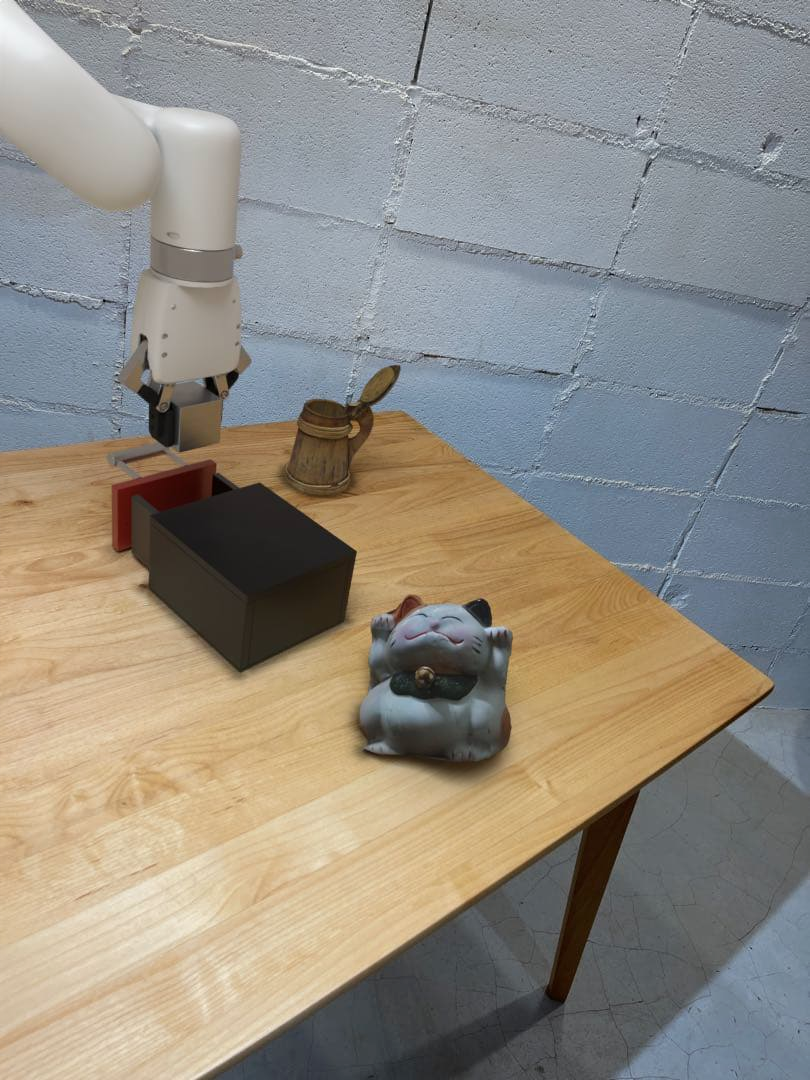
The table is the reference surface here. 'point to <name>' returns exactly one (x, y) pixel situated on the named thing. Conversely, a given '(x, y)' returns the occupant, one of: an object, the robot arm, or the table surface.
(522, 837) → the table surface
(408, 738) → the lucky cat figurine
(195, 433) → the steel block
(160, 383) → the robot arm
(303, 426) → the wooden mug
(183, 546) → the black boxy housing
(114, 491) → the drawer
